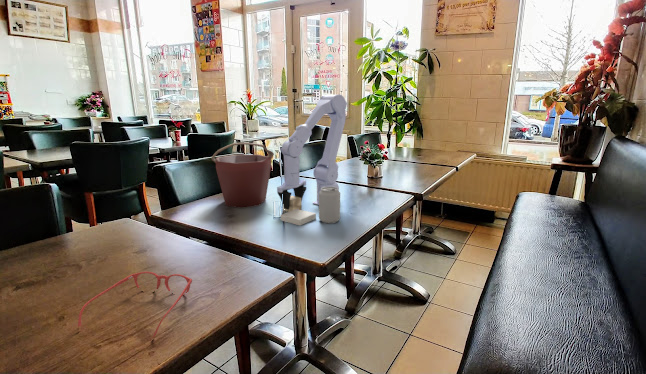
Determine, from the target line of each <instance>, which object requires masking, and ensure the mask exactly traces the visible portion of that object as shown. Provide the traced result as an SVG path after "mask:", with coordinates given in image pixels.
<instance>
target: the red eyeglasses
mask: <svg viewBox="0 0 646 374" xmlns="http://www.w3.org/2000/svg"><path fill="white" fill-rule="evenodd" d="M142 274H150V275H153V276H155V277H156V281H157V282H156V288H155V290H156V289H158V290H159V288H160V286H161V282H162V281H161V279H164V285H165V288H166V289H167V291H168V292H169V291H170V290H171V288H170V286H169V279H171V277H176V276H177V277H181V278H184V280H185V281H186V283H187V284H186V285H185V288H184V289H183V290H182V292H181V294H180V295H179V296H178V298H177V299H176V300H175V302H174V303H173V304H172V306H171V307H170V308H169V310H167V311H166V313H165V314H164V315H163V317H162V318H161V320H160V321H159V323H158V325H157V327H156V329H155V331H154V333H153V336H152V338H153V337H154V336H155V335H157V333H158V330H159V328H160V326H161V324H162V322H163V321H164V320H165V318H166V316H167V315H168V314H170V312H171V310H173V309H174V307H176V304H178V302H179V301H180V300H181V298H182V297H184V296H183V295H184V294H185V293H187V292H188V293H189V291H190V288H191V284H192V282H193V279H192V278H190V277H188V276H186V275H184V274H177V273H174V274H170V275H168V276H167V275H164V274H161V275H158V274H157V273H155V272H152V271H140V272H137V273H132V274H130V275H128V276H126V277H125V278H122V279H121V280H119V281H118V282H117V283H115V284H113V285H112V286H110V287H108V288H107V289H105V290H104V291H102V292H100V293H99V294H96V295H95V296H94V297H93V298H90V299H89V301H87V302H86V303H85V304H84V305H83V306H82V308H81V309H80V312H79V315H78V318H77V319H78V323H77V328H78V327H79V326H81V327H82V315H83V312H84V310H85V309H86V307H87V306H88V305H89V304H90V303H91V302H93V301H94V300H97V299H98V298H99V297H101V296H102V295H104V294H105V293H108V292H109V291H111V290H113V289H114V288H116V287H118V286H120V285H122V284H124V283H125V282H127V281H129V280H131V279H134V284H135V286H136V288H137V289H138V288H139V287H140V286H139V283H138V277H139V276H140V275H142ZM188 293H187V294H188ZM155 337H156V336H155Z"/></svg>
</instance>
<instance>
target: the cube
mask: <svg viewBox="0 0 646 374" xmlns="http://www.w3.org/2000/svg"><path fill="white" fill-rule="evenodd" d="M302 207H303V205H302V202H301V198H300V197H296V196H295V195H291V196H290V204H289V209H285V210H286V211H285V212H287V211H288V212H290V211H293V210H295V209H300V210H303V209H302Z"/></svg>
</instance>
